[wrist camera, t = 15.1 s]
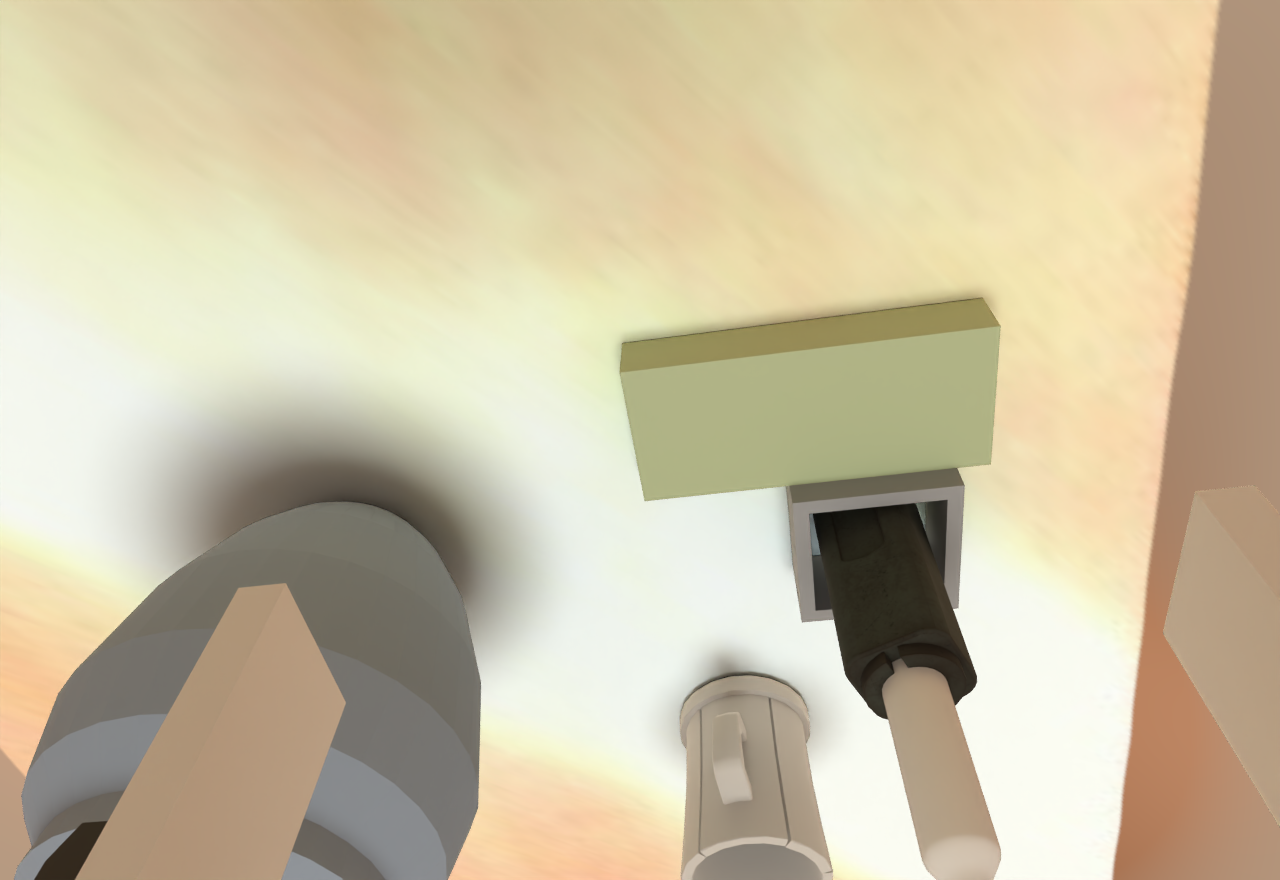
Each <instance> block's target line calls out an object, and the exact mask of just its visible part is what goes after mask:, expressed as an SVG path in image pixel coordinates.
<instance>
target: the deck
mask: <svg viewBox="0 0 1280 880" xmlns="http://www.w3.org/2000/svg"><path fill="white" fill-rule="evenodd" d="M1000 327H1001V326H1000V324H999V323H998V321H997V320H996V318H995V317H994V315H993V314H992V312H991V310H990V309H989V307H988V306H987V304H986V303H985V301H984V300H983V298H979V299H971V300H963V301H955V302H947V303H939V304H931V305H923V306H915V307H907V308H899V309H891V310H884V311H876V312H868V313H860V314H852V315H844V316H836V317H828V318H820V319H812V320H804V321H796V322H788V323H780V324H772V325H764V326H757V327H749V328H741V329H733V330H725V331H717V332H709V333H701V334H693V335H685V336H677V337H669V338H661V339H653V340H645V341H637V342H630V343H622V353H621V364H620V377H621V382H622V387H623V392H624V397H625V403H626V408H627V413H628V418H629V423H630V428H631V433H632V439H633V444H634V449H635V454H636V459H637V464H638V469H639V475H640V480H641V485H642V490H643V495H644V500H645V501H650V500H660V499H669V498H679V497H688V496H697V495H707V494H716V493H726V492H735V491H744V490H754V489H763V488H773V487H782V486H786V489H787V500H788V512H789V524H790V536H791V548H792V560H793V570H794V576H795V582H796V588H797V595H798V601H799V607H800V613H801V619H802V622H811V621H822V620H833V619H834V617H833V612H832V607H831V602H830V597H829V592H828V587H827V582H826V577H825V572H824V567H823V562H822V557H821V556H812V551H811V537H810V522H809V514H812V513H822V512H832V511H842V510H851V509H861V508H871V507H880V506H890V505H900V504H910V503H919V502H926V530H925V532H926V535H927V538H928V540H929V543H930V546H931V549H932V552H933V554H934V557H935V560H936V563H937V566H938V569H939V571H940V574H941V577H942V580H943V583H944V585H945V588H946V591H947V594H948V597H949V599H950V602H951V605H952V608H953V609H956V608H958V604H959V584H960V565H961V545H962V526H963V507H964V487H965V485H964V483H963V481H962V478H961V476H960V474H959V472H958V469H957V468H960V467H970V466H979V465H989V464H991V455H992V441H993V426H994V412H995V398H996V384H997V370H998V355H999V341H1000Z"/></svg>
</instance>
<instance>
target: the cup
mask: <svg viewBox="0 0 1280 880" xmlns="http://www.w3.org/2000/svg"><path fill="white" fill-rule="evenodd" d="M680 733H681V740H682V743H683V745H684V746H685V748H686V749H687V779H686V806H685V824H684V839H683V852H682V865H681V880H833V869H832V865H831V861H830V857H829V853H828V849H827V845H826V840H825V836H824V832H823V828H822V824H821V819H820V815H819V810H818V805H817V801H816V796H815V792H814V787H813V782H812V776H811V770H810V764H809V759H808V753H807V747H806V743H807V741H808V739H809V736H810V722H809V716H808V709H807V707H806V705H805V703H804V702H803V700H802V698H801V696H799V695H798V694H797V693H796V692H795V691H793V690H792V689H791V688H790V687H789V686H787V685H784V684H782V683H780V682H777V681H775V680H772V679H770V678H764V677H758V676H752V675H744V676H730V677H726V678H723V679H719V680H716V681H713V682H710V683H709V684H707V685H705V686H703V687H702V688H700V689H698V690H697V691H695V692H694V693H693V694H692V695H691V696H690V697H689V699H688V700H687V701H686V702H685V703H684V706H683V709H682V711H681V714H680Z"/></svg>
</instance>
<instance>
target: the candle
mask: <svg viewBox="0 0 1280 880" xmlns="http://www.w3.org/2000/svg"><path fill="white" fill-rule="evenodd" d="M813 518H814V523H815V528H816V533H817V538H818V543H819V548H820V553H821V557H822V562H823V567H824V572H825V577H826V582H827V587H828V592H829V597H830V602H831V607H832V612H833V617H834V621H835V626H836V631H837V636H838V641H839V646H840V651H841V656H842V661H843V666H844V671H845V675H846V676H847V678H848V680H849V681H850V682H851V684H852V685H853V686H854V688H855V689H856V690H857V691H858V693H859V694H860V695H861V696H862V698H863V699H864V700H865V702H866V703H867V705H868V707H869V708H870V709H872V710H873V712H874V713H875V714H876V715H877V716H879V717H881V718H884V719H888V720H889V724H890V729H891V733H892V737H893V741H894V745H895V749H896V754H897V758H898V762H899V766H900V770H901V774H902V778H903V783H904V787H905V791H906V795H907V799H908V803H909V808H910V812H911V816H912V820H913V824H914V828H915V832H916V837H917V841H918V845H919V849H920V853H921V857H922V861H923V863H924V865H925V867H926V869H927V871H928V872H929V873H930V874H931V875H932V876H933V877H934V878H935V879H936V880H993V879H994V877H995V874H996V872H997V869H998V866H999V863H1000V860H1001V849H1000V846H999V842H998V839H997V836H996V833H995V830H994V827H993V824H992V821H991V817H990V814H989V811H988V808H987V805H986V802H985V799H984V795H983V792H982V789H981V786H980V783H979V780H978V777H977V774H976V770H975V767H974V764H973V761H972V758H971V755H970V752H969V748H968V745H967V742H966V739H965V736H964V733H963V730H962V727H961V723H960V720H959V717H958V714H957V711H956V708H955V705H956V704H957V703H958V702H959V701H960V700H961V698H962V697H963V696H965V695H967V694H968V693H970V692H971V691H972V690H973V689H974V687H975V686H976V683H977V675H976V673H975V670H974V667H973V664H972V661H971V658H970V656H969V653H968V650H967V647H966V644H965V642H964V639H963V636H962V633H961V630H960V628H959V625H958V622H957V619H956V616H955V614H954V611H953V608H952V605H951V602H950V599H949V597H948V594H947V591H946V588H945V585H944V583H943V580H942V577H941V574H940V571H939V569H938V566H937V563H936V560H935V557H934V554H933V552H932V549H931V546H930V543H929V540H928V538H927V535H926V532H925V529H924V526H923V524H922V521H921V518H920V515H919V512H918V509H917V507H916V504H915V503H910V504H900V505H890V506H880V507H871V508H861V509H851V510H842V511H832V512H822V513H813Z"/></svg>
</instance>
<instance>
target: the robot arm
mask: <svg viewBox="0 0 1280 880" xmlns="http://www.w3.org/2000/svg"><path fill="white" fill-rule="evenodd" d="M1163 634H1164V636H1165V638H1166V639H1167V641H1168V643H1169V644H1170V646H1171V648H1172V649H1173V651H1174V653H1175V654H1176V656H1177V658H1178V659H1179V661H1180V662H1181V664H1182V666H1183V668H1184V669H1185V671H1186V672H1187V674H1188V676H1189V678H1190V679H1191V681H1192V682H1193V684H1194V686H1195V687H1196V689H1197V691H1198V693H1199V694H1200V696H1201V698H1202V699H1203V701H1204V703H1205V704H1206V706H1207V707H1208V709H1209V711H1210V712H1211V714H1212V716H1213V717H1214V719H1215V721H1216V722H1217V724H1218V726H1219V727H1220V729H1221V731H1222V732H1223V734H1224V736H1225V737H1226V739H1227V741H1228V742H1229V744H1230V746H1231V747H1232V749H1233V751H1234V752H1235V754H1236V756H1237V757H1238V759H1239V761H1240V762H1241V764H1242V766H1243V767H1244V769H1245V771H1246V772H1247V774H1248V776H1249V777H1250V779H1251V781H1252V782H1253V784H1254V785H1255V787H1256V789H1257V791H1258V792H1259V794H1260V796H1261V797H1262V799H1263V801H1264V802H1265V804H1266V806H1267V807H1268V809H1269V810H1270V812H1271V814H1272V816H1273V817H1274V819H1275V821H1276V822H1277V824H1278V826H1279V827H1280V514H1279V513H1278V511H1277V510H1276V509H1275V508H1274V507H1273V506H1272V504H1271V503H1270V502H1269V501H1268V500H1267V499H1266V497H1265V496H1264V495H1263V494H1262V493H1261V492H1260V491H1259V489H1258V488H1257V487H1256V486H1255V485H1253V486H1244V487H1234V488H1224V489H1215V490H1204V491H1196V492H1195V495H1194V499H1193V504H1192V508H1191V512H1190V517H1189V521H1188V526H1187V530H1186V534H1185V539H1184V543H1183V547H1182V552H1181V556H1180V561H1179V566H1178V569H1177V574H1176V578H1175V582H1174V587H1173V591H1172V596H1171V600H1170V605H1169V609H1168V614H1167V618H1166V622H1165V626H1164V631H1163ZM345 704H346V702H345V700H344V698H343V696H342V694H341V692H340V690H339V688H338V686H337V684H336V682H335V680H334V678H333V676H332V674H331V672H330V670H329V668H328V666H327V664H326V662H325V660H324V658H323V656H322V654H321V652H320V650H319V648H318V646H317V644H316V642H315V640H314V638H313V636H312V634H311V632H310V630H309V628H308V626H307V624H306V622H305V620H304V618H303V616H302V614H301V612H300V610H299V608H298V606H297V604H296V602H295V600H294V598H293V596H292V594H291V592H290V590H289V588H288V586H287V584H286V583H282V584H272V585H262V586H252V587H242V588H238V590H237V592H236V593H235V595H234V597H233V599H232V600H231V602H230V604H229V606H228V608H227V609H226V611H225V613H224V615H223V617H222V618H221V620H220V622H219V624H218V625H217V627H216V629H215V631H214V633H213V634H212V636H211V638H210V640H209V642H208V643H207V645H206V647H205V649H204V650H203V652H202V654H201V656H200V658H199V659H198V661H197V663H196V665H195V666H194V668H193V670H192V672H191V674H190V675H189V677H188V679H187V681H186V683H185V684H184V686H183V688H182V690H181V691H180V693H179V695H178V697H177V699H176V700H175V702H174V704H173V706H172V708H171V709H170V711H169V713H168V715H167V716H166V718H165V720H164V722H163V724H162V725H161V727H160V729H159V731H158V733H157V734H156V736H155V738H154V740H153V741H152V743H151V745H150V747H149V749H148V750H147V752H146V754H145V756H144V757H143V759H142V761H141V763H140V765H139V766H138V768H137V770H136V772H135V774H134V775H133V777H132V779H131V781H130V782H129V784H128V786H127V788H126V790H125V791H124V793H123V795H122V797H121V799H120V800H119V802H118V804H117V806H116V807H115V809H114V811H113V813H112V815H111V816H110V818H109V820H108V821H99V822H85V823H81V825H80V826H79V827H78V828H77V829H76V830H75V831H74V832H73V833H72V834H71V835H70V836H69V837H68V838H67V839H66V840H65V841H64V842H63V843H62V844H61V845H60V846H59V847H58V848H57V849H56V851H55V852H54V853H53V854H52V855H51V856H50V857H49V858H48V859H47V860H46V861H45V862H44V864H43V866H42V867H41V869H40V871H39V872H38V874H37V876H36V877H35V879H34V880H281V879H282V876H283V873H284V871H285V868H286V865H287V862H288V860H289V857H290V854H291V852H292V849H293V846H294V843H295V841H296V838H297V835H298V832H299V830H300V827H301V824H302V822H303V819H304V816H305V813H306V811H307V808H308V805H309V802H310V800H311V797H312V794H313V792H314V789H315V786H316V783H317V781H318V778H319V775H320V772H321V770H322V767H323V764H324V762H325V759H326V756H327V753H328V751H329V748H330V745H331V742H332V740H333V737H334V734H335V732H336V729H337V726H338V723H339V721H340V718H341V715H342V712H343V710H344V707H345Z"/></svg>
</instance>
